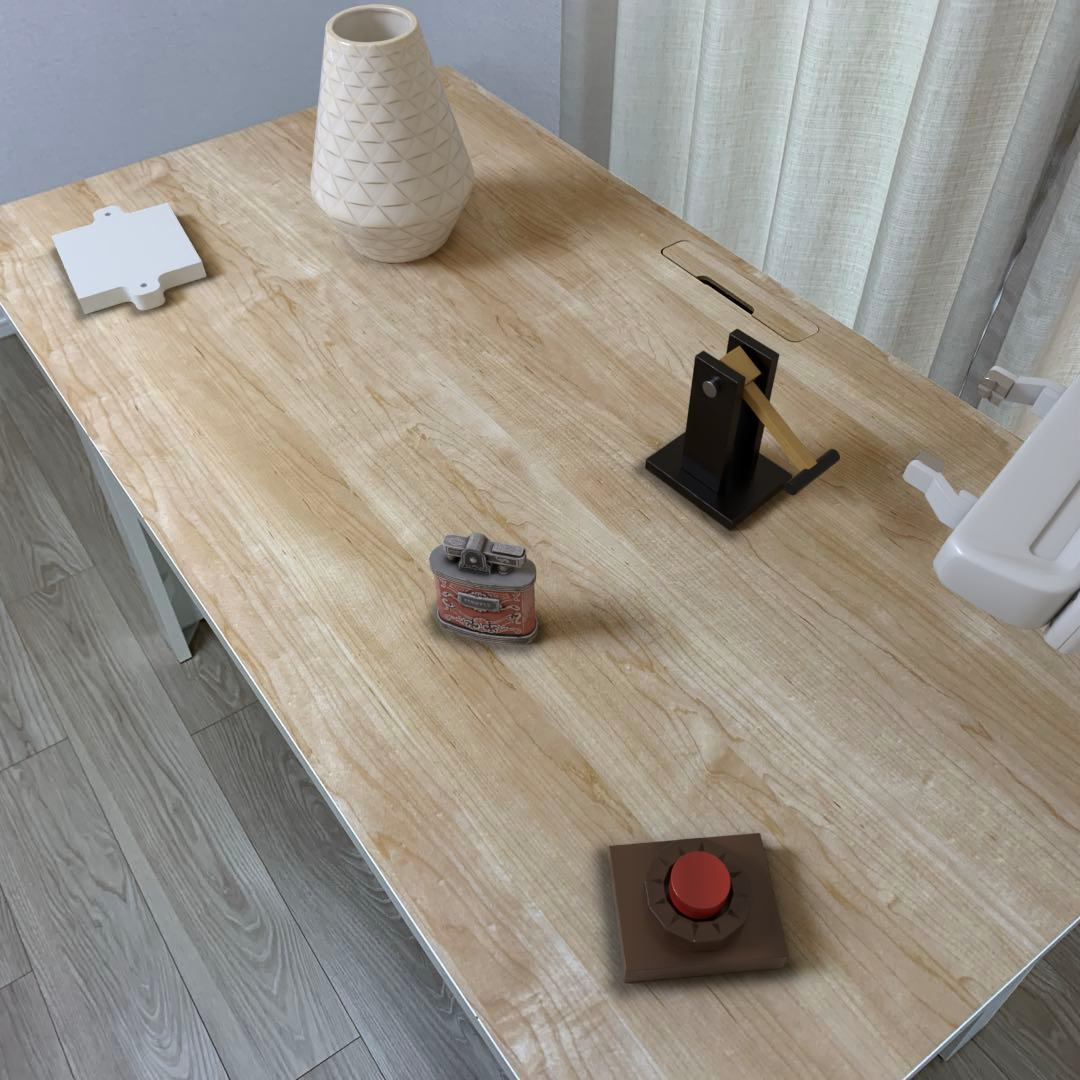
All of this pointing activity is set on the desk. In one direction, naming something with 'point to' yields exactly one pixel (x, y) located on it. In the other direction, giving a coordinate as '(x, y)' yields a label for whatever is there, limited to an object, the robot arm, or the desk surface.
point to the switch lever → (779, 426)
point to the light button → (699, 885)
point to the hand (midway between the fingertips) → (948, 419)
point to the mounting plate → (128, 257)
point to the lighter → (485, 589)
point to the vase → (386, 138)
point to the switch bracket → (723, 440)
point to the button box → (687, 943)
